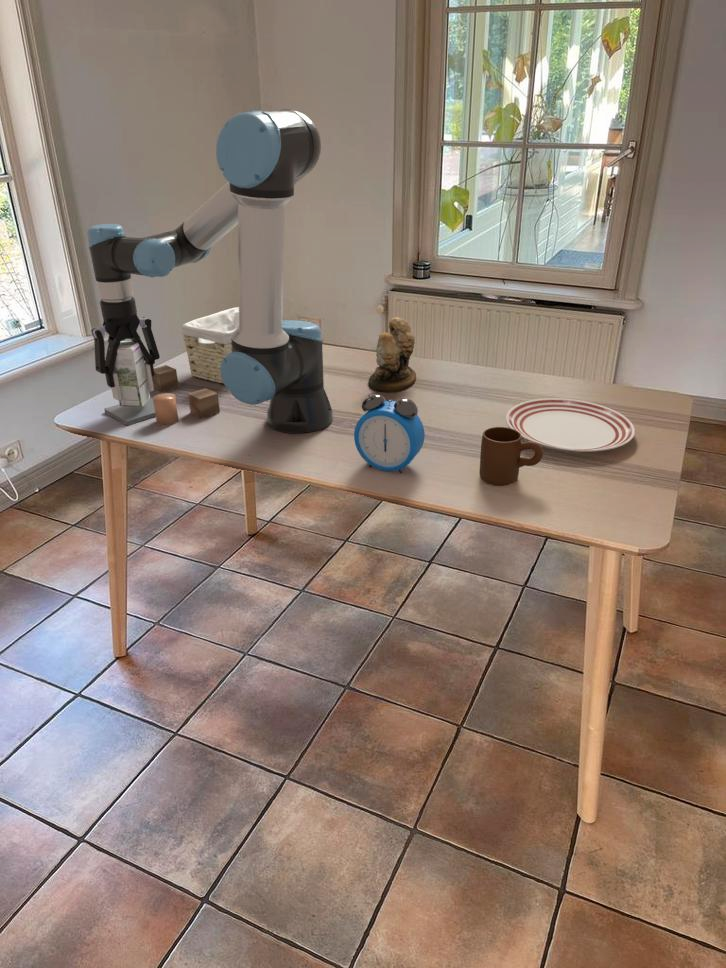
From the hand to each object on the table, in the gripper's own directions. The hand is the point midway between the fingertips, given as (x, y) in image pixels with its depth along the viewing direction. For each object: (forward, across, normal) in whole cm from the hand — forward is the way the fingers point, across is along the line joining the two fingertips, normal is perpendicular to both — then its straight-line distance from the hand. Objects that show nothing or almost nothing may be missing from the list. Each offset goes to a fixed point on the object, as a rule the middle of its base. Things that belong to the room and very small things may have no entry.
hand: (133, 394), depth 172 cm
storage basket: (+5, -35, -8) cm, 36 cm away
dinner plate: (+5, -62, +80) cm, 101 cm away
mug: (+5, -34, +84) cm, 91 cm away
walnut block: (+5, -12, +12) cm, 17 cm away
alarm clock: (+5, -22, +63) cm, 67 cm away
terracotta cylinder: (+5, -2, +10) cm, 11 cm away
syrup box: (+2, 0, 0) cm, 2 cm away
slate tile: (+5, 0, 0) cm, 5 cm away
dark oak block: (+5, -14, -10) cm, 18 cm away
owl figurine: (+5, -58, +29) cm, 65 cm away
